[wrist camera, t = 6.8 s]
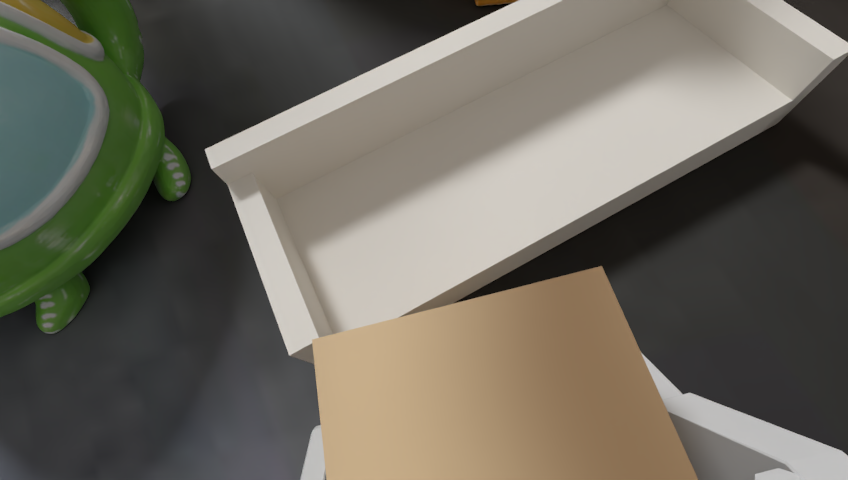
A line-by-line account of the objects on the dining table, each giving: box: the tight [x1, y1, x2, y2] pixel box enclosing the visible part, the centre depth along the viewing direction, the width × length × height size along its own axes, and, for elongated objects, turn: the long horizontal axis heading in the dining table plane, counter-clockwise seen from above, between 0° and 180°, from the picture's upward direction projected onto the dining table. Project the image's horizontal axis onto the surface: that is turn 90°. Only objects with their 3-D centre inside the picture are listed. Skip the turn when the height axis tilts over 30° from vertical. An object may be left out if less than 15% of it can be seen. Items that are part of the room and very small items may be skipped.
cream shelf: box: [205, 0, 848, 364], centre depth 16 cm, size 22×8×5 cm, turn 118°
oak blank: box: [312, 266, 698, 480], centre depth 10 cm, size 4×4×10 cm
